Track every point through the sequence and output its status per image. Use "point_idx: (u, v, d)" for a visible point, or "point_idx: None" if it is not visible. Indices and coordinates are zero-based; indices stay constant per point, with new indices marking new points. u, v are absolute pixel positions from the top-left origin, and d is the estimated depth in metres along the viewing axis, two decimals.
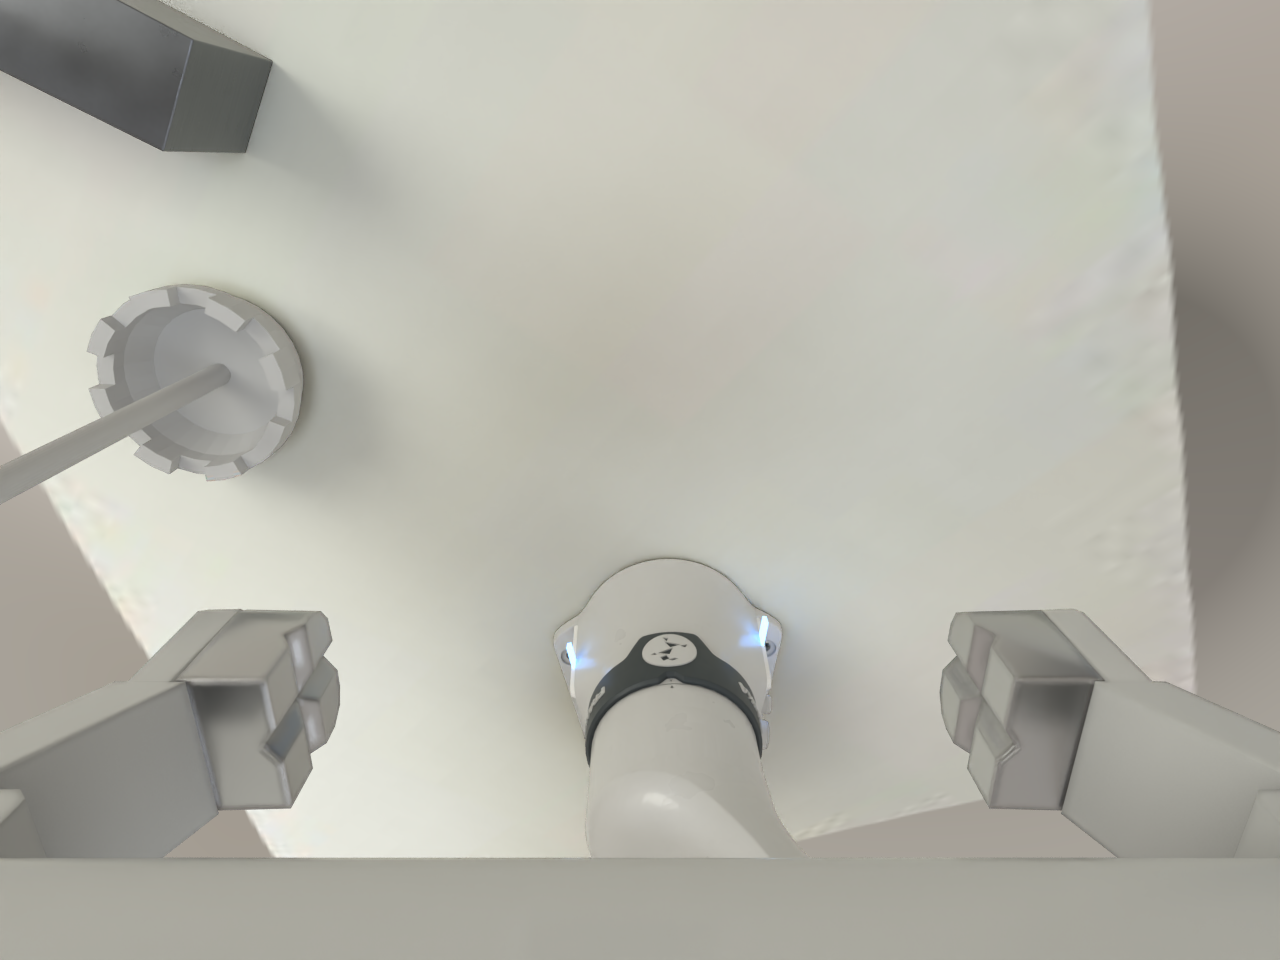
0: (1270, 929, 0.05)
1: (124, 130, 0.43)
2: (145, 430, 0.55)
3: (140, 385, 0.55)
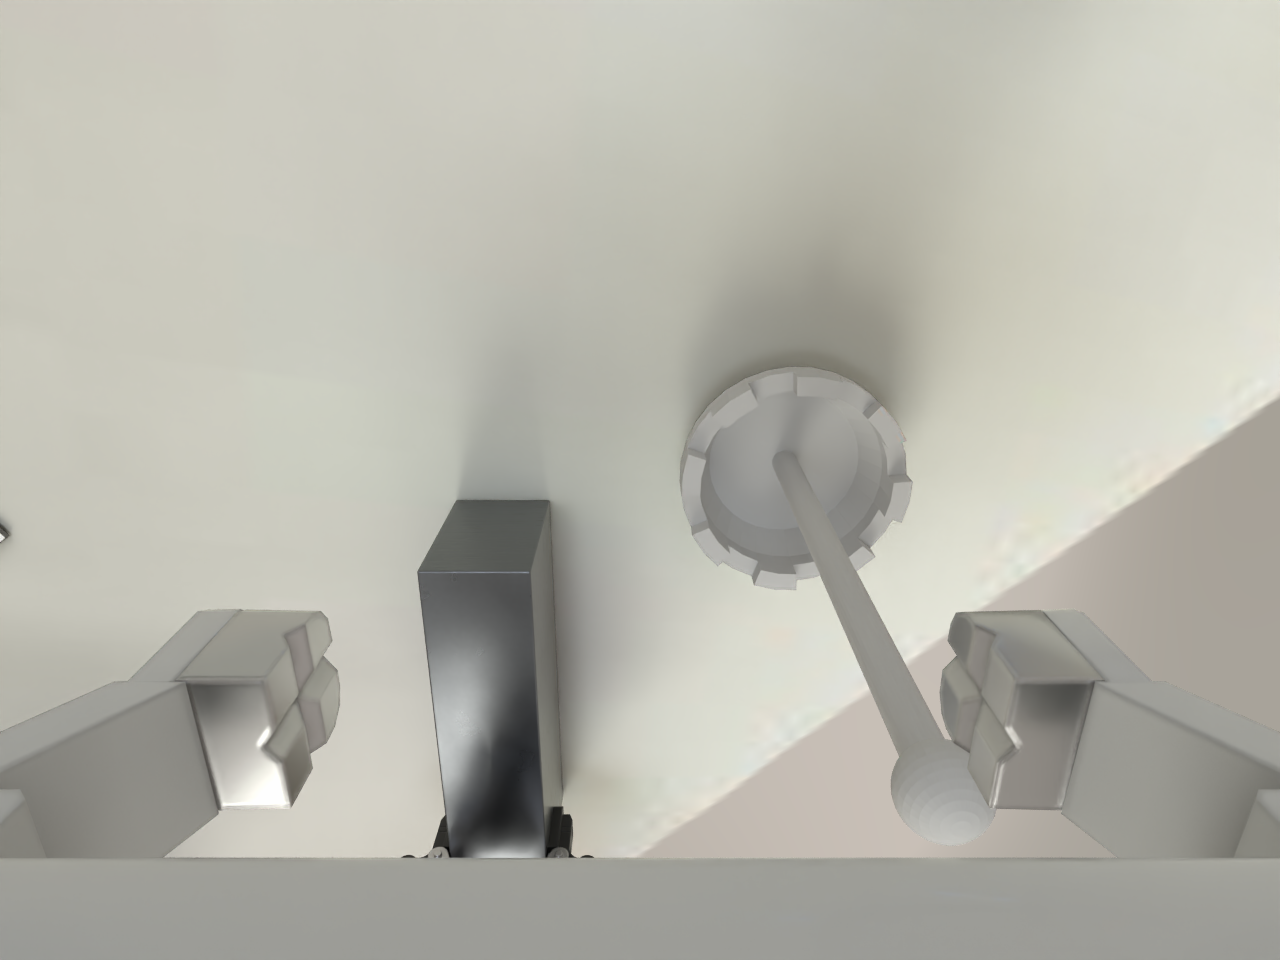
0: (1270, 929, 0.05)
1: (530, 606, 0.43)
2: (872, 517, 0.47)
3: None
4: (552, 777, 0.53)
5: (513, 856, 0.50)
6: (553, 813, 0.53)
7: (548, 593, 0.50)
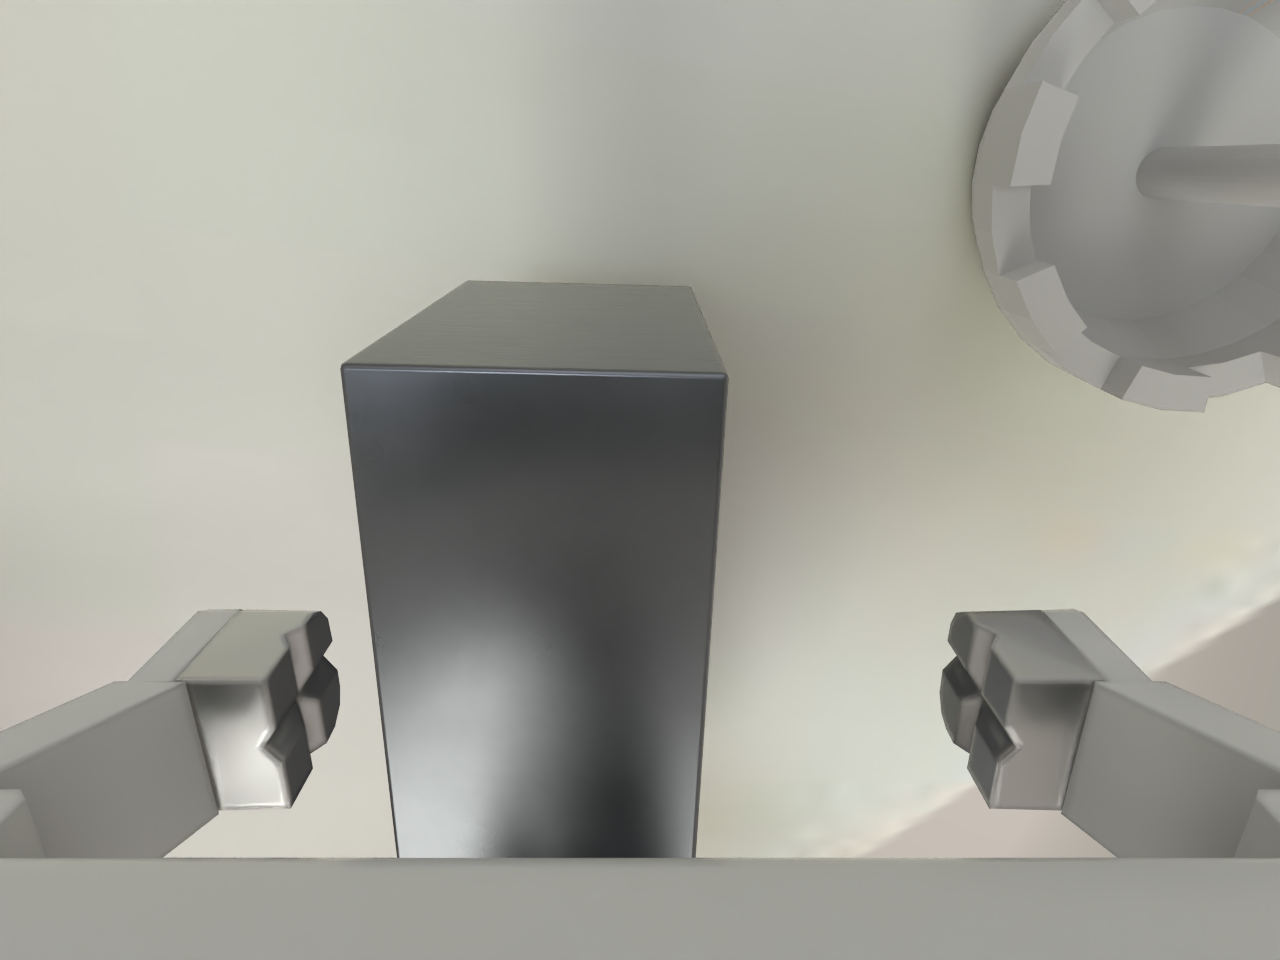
0: (1270, 929, 0.05)
1: (714, 500, 0.13)
2: None
3: (1234, 318, 0.25)
4: None
5: None
6: None
7: None
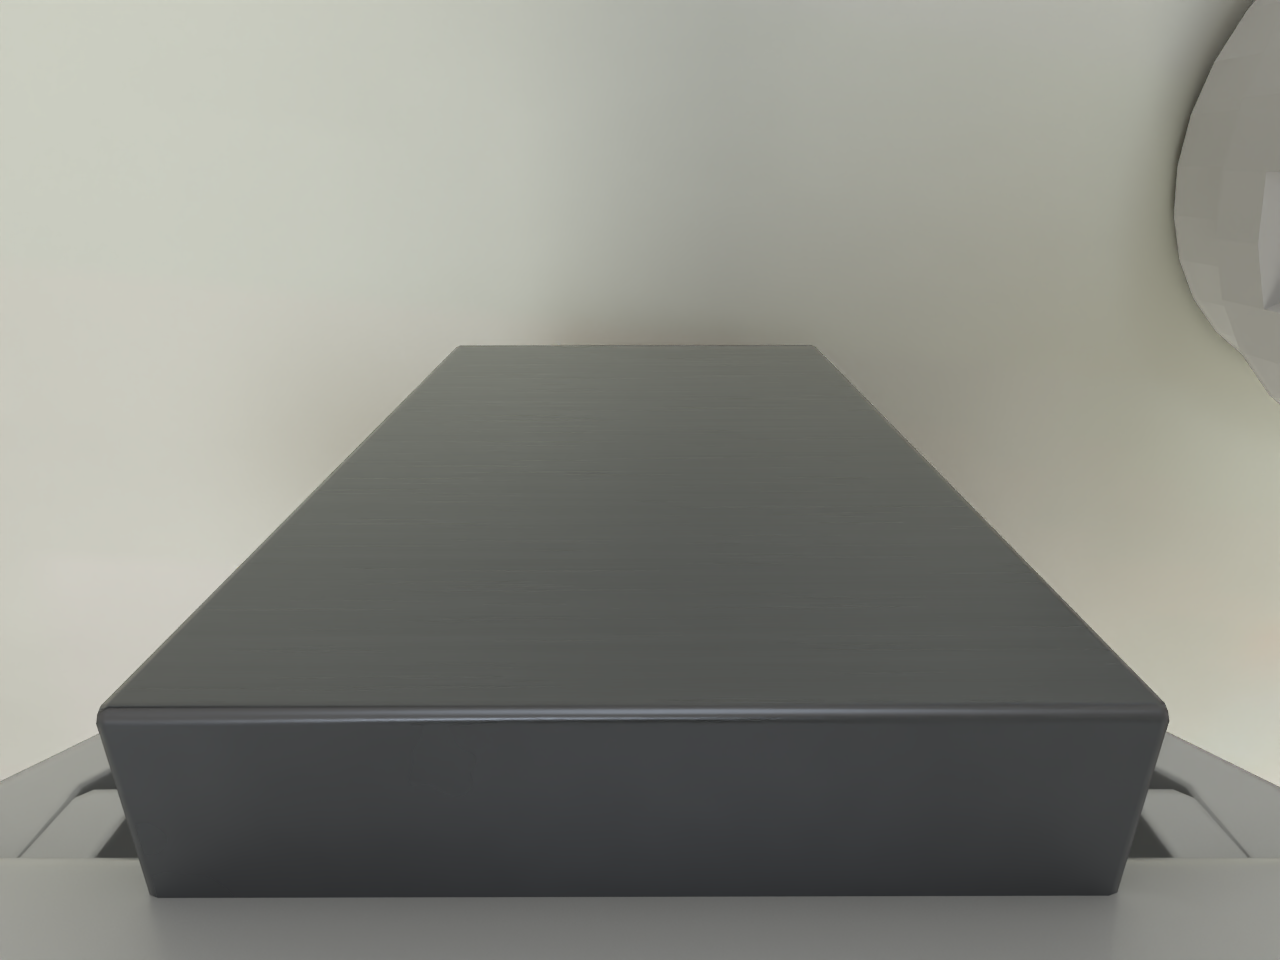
0: (1270, 929, 0.05)
1: None
2: None
3: None
4: None
5: None
6: None
7: None
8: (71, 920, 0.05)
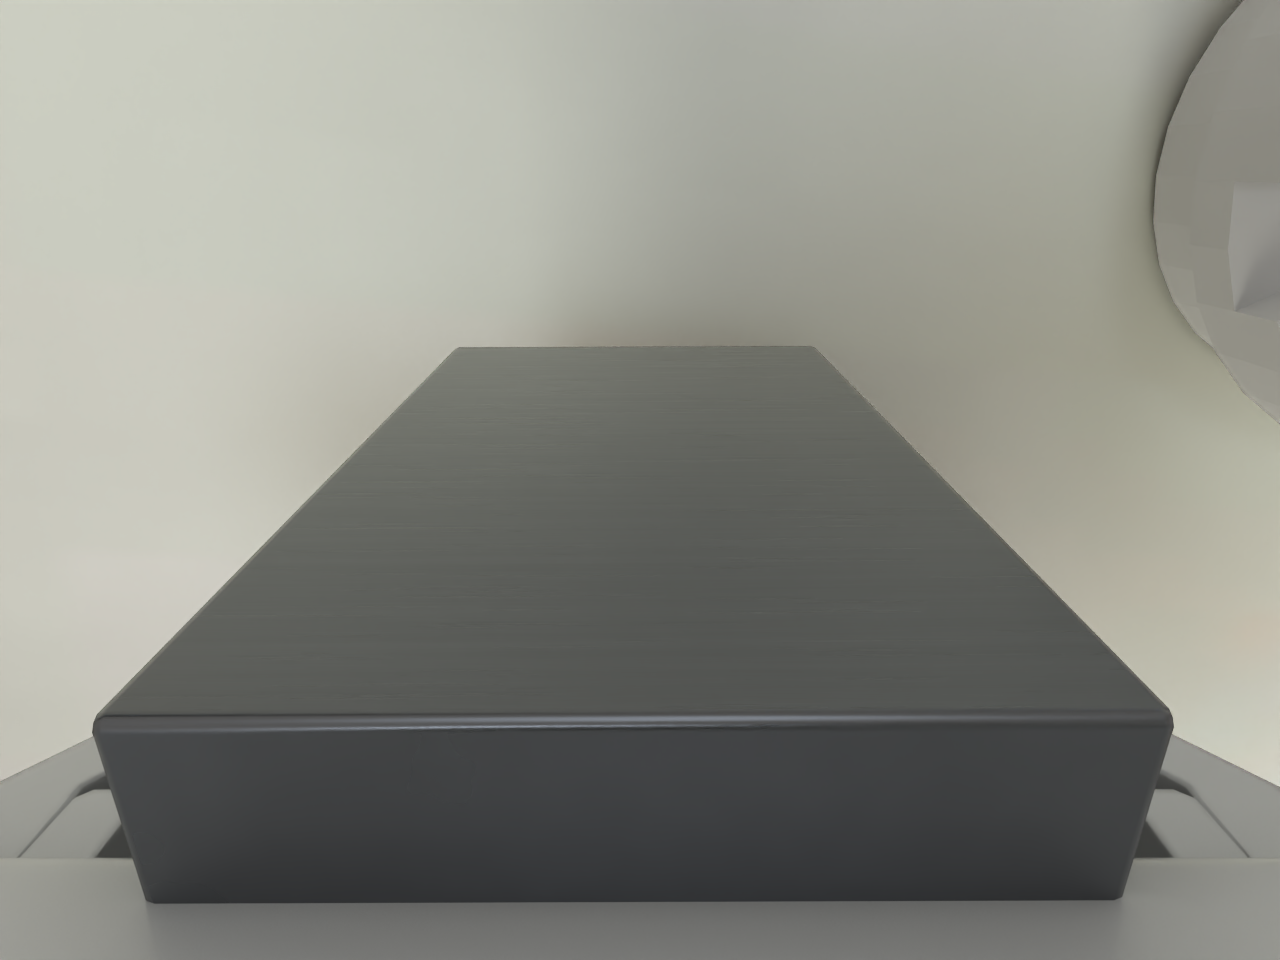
0: (1269, 929, 0.05)
1: None
2: None
3: None
4: None
5: None
6: None
7: None
8: (71, 920, 0.05)
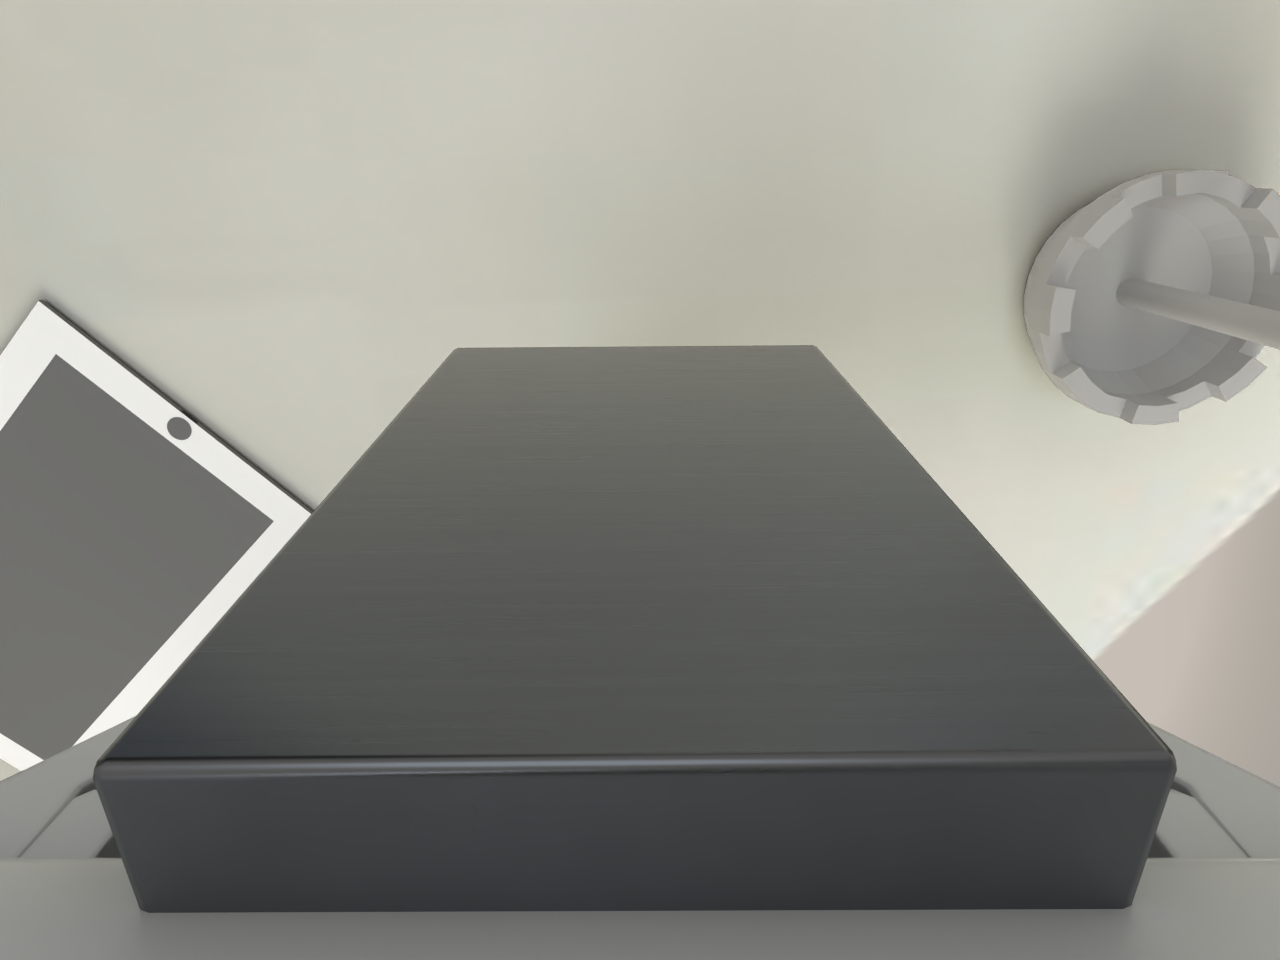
0: (1270, 929, 0.05)
1: None
2: None
3: (1189, 360, 0.45)
4: None
5: None
6: None
7: None
8: (71, 920, 0.05)
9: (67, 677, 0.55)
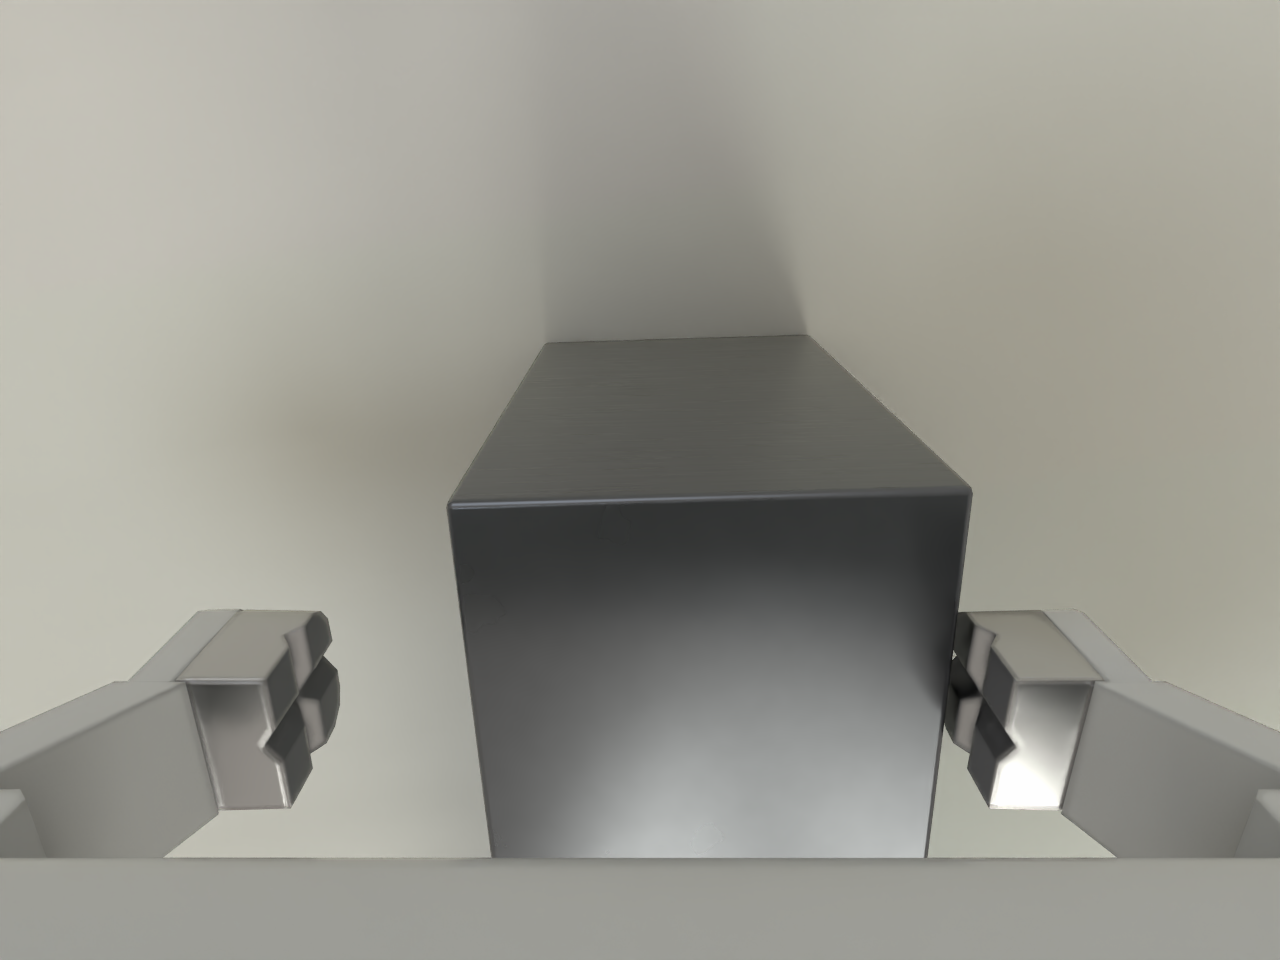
0: (1270, 929, 0.05)
1: (947, 651, 0.10)
2: None
3: None
4: None
5: None
6: None
7: None
8: (71, 920, 0.05)
9: None
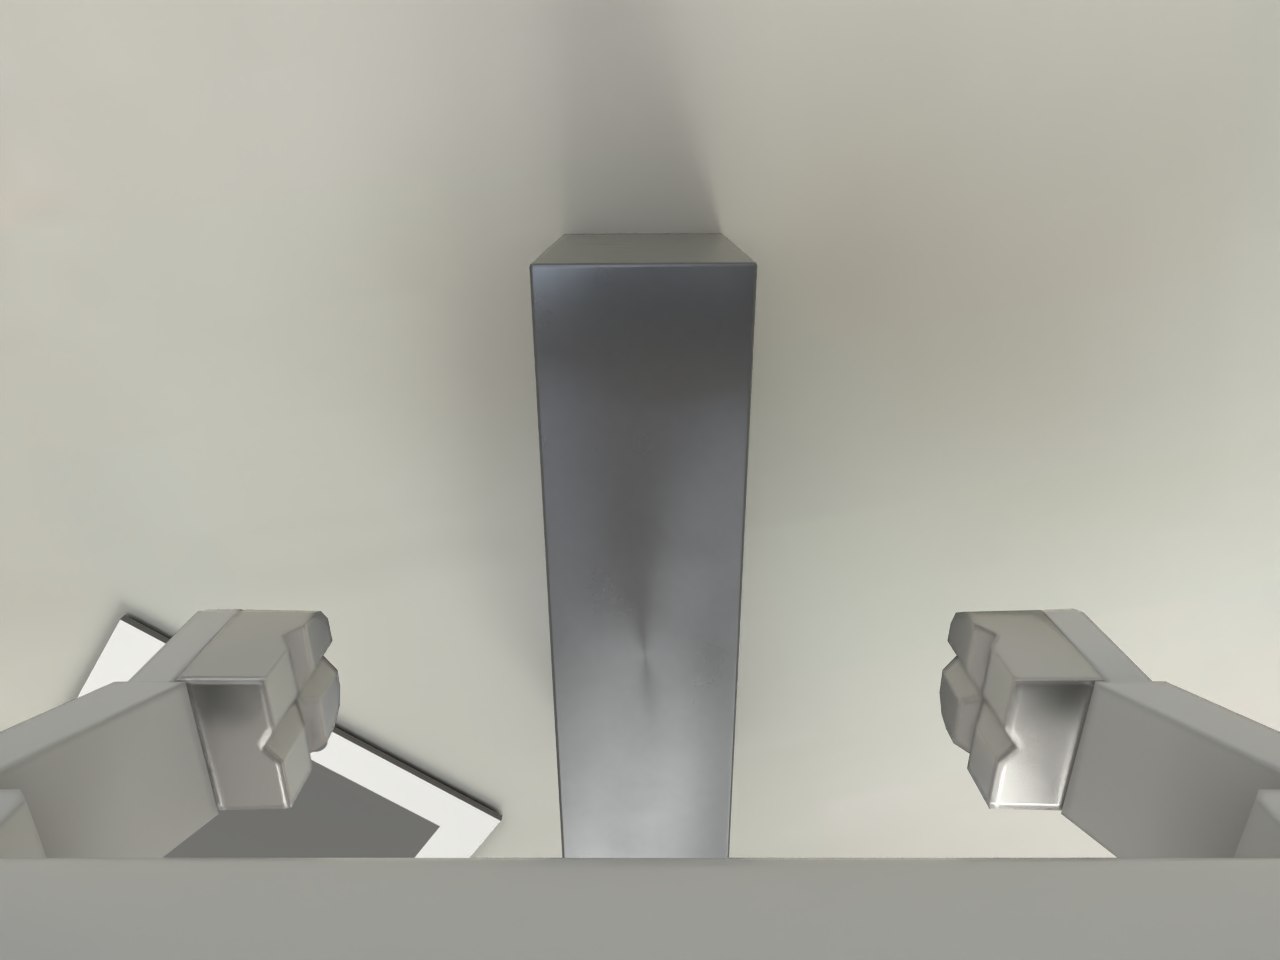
0: (1269, 929, 0.05)
1: (750, 343, 0.22)
2: None
3: None
4: None
5: (672, 841, 0.28)
6: None
7: None
8: (71, 920, 0.05)
9: None
